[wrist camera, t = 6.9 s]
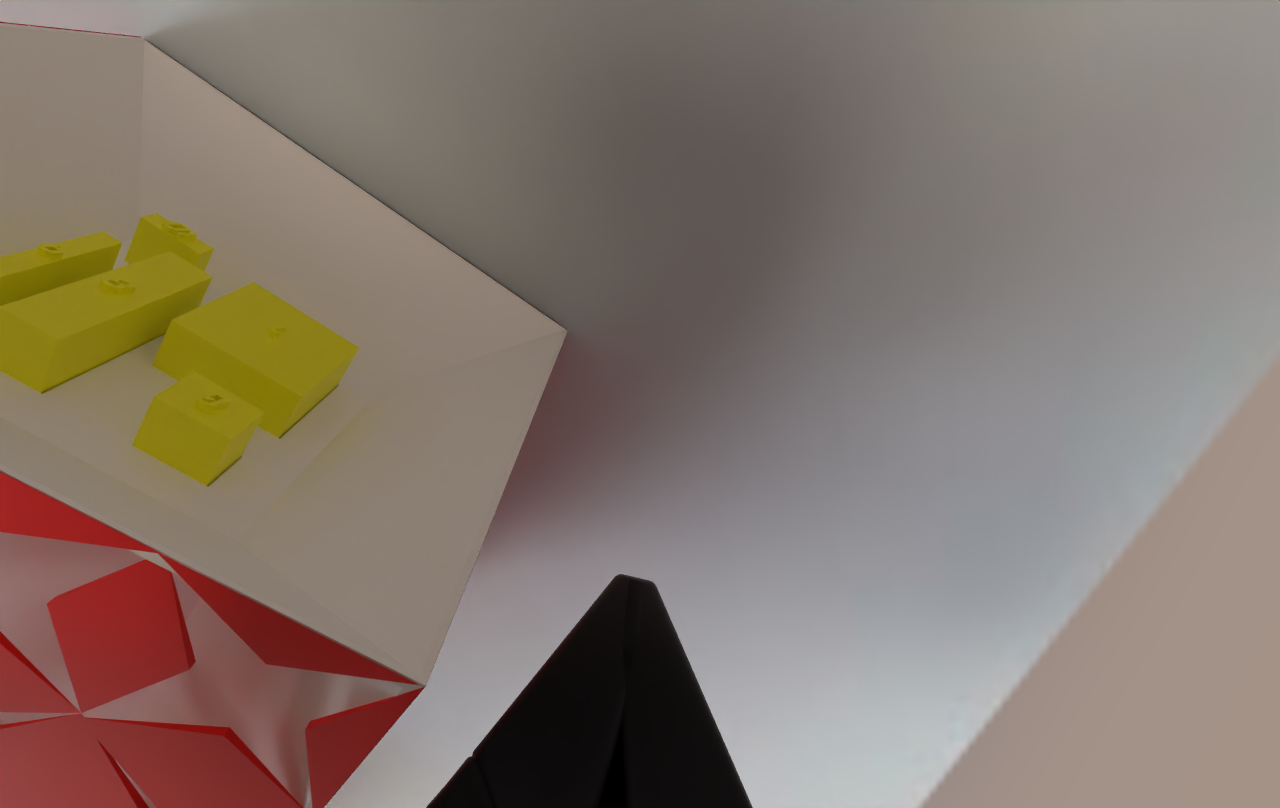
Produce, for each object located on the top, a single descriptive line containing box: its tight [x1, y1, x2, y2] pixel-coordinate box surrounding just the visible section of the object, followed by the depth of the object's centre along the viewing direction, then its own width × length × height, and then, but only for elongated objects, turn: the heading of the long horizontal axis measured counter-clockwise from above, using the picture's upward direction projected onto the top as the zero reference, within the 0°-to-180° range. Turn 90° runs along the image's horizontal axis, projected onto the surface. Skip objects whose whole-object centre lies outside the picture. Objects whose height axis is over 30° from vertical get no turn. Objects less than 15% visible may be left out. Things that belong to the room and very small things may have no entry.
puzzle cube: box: [0, 22, 568, 808], centre depth 9 cm, size 8×8×8 cm
